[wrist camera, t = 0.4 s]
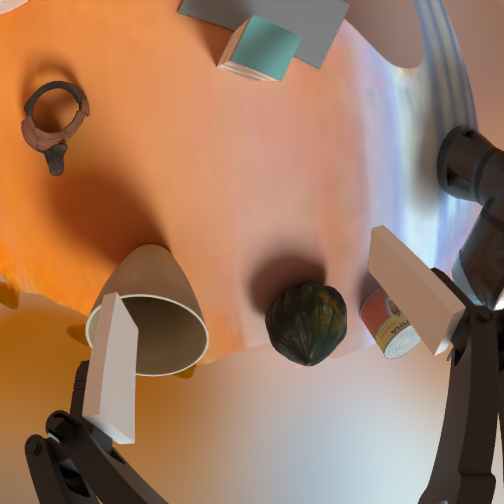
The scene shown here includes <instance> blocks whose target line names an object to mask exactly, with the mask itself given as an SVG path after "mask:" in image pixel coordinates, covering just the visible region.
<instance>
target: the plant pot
mask: <svg viewBox="0 0 504 504" xmlns="http://www.w3.org/2000/svg"><path fill="white" fill-rule="evenodd" d="M115 292H117V293H118V295H119V296H120V298H121V300H122V302H123V304H124V305H125V307H126V309H127V311H128V313H129V314H130V316H131V318H132V320H133V321H134V323H135V325H136V326H137V328H138V340H137V355H136V375H144V376H162V375H169V374H174V373H177V372H180V371H183V370H185V369H187V368H189V367H191V366H192V365H194V364H195V363H196V362H198V361H199V360H200V359H201V358H202V356H203V355H204V354H205V352H206V350H207V347H208V343H209V333H208V330H207V327H206V324H205V321H204V318H203V315H202V312H201V310H200V307H199V304H198V301H197V299H196V297H195V294H194V292H193V290H192V288H191V286H190V284H189V281H188V279H187V278H186V276H185V274H184V272H183V271H182V269H181V267H180V266H179V264H178V263H177V261H176V260H175V259H174V257H173V256H172V255H171V253H170V252H169V251H168V250H167V249H165V248H164V247H162V246H159V245H155V244H145V245H142V246H139V247H137V248H136V249H135V250H133V251H132V252H131V253H130V254H129V255H128V256H127V257H126V258H125V259H124V260H123V261H122V262H121V263H120V264H119V265H118V267H117V268H116V269H115V270H114V272H113V273H112V274H111V276H110V277H109V279H108V280H107V282H106V283H105V285H104V287H103V288H102V290H101V292H100V294H99V296H98V298H97V300H96V302H95V304H94V306H93V308H92V310H91V313H90V315H89V317H88V320H87V322H86V328H85V332H86V338H87V341H88V343H89V345H90V347H91V348H92V346H93V341H94V336H95V331H96V326H97V322H98V318H99V313H100V309H101V305H102V301H103V297H104V295H107V294H111V293H115Z"/></svg>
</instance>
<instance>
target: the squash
mask: <svg viewBox="0 0 504 504" xmlns="http://www.w3.org/2000/svg"><path fill="white" fill-rule="evenodd" d="M265 324H266V328H267V331H268V334H269V338H270V341H271V344H272V345H273V347H274V348H275V349H276V351H278V352H279V353H281V354H282V355H283V356H285V357H286V358H288V359H289V360H291V361H293V362H295V363H298V364H301V365H304V366H314V365H316V364H318V363H320V362H321V361H323V360H324V359H325V358H326V357H327V356H329V355H330V354H331V353H332V352H333V351H334V349H335V348H336V347H337V345H338V344H339V343H340V342H341V341H342V340H343V339H344V337H345V335H346V332H347V309H346V304H345V302H344V300H343V298H342V296H341V294H340V293H339V292H338V291H337V290H336V289H335V288H333V287H330V286H322V285H321V284H320V283H318V282H316V281H310V282H306V283H304V284H303V285H302V286H301V288H300V289H299V288H296V287H292V288H289V289H288V290H287V292H286V294H285V295H283V296H281V297H279V298H278V299H277V300H276V301H275V303H274V304H273V305H272V306H271V307H270V308H269V309H268V311H267V312H266V316H265Z"/></svg>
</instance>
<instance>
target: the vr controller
mask: <svg viewBox="0 0 504 504" xmlns="http://www.w3.org/2000/svg"><path fill="white" fill-rule="evenodd" d="M55 88H61V89H65V90H67V91H69V92H70V93H71V94H72V95H73V96H74V97H75V99H76V102H77V103H79V111H77V112H76V115H75V117H74V119H73V120H72V122H71V123H70V124H69V125H68V126H67V127H65V128H64V129H62V130H60V131H58V132H46V131H43V130H41V129H40V128H39V127H38V126H37V125H36V124H35V122H34V119H33V115H32V113H33V107H34V104H35V102H36V101H37V99H38V98H39V97H40V96H41V95H42V94H43V93H44V92H46V91H48V90H51V89H55ZM24 110H25V112H26V114H27V118H26V119H25V120H23V121H22V122H21V129H22V134H23V137H24V139H25V141H26V142H27V144H28V145H30V146H31V147H32V148H33V149H35V150H36V151H38V152H41V153H44V155H45V158H46V161H47V164H48V166H49V170H50V174H51V175H53V176H59V175H61V174H62V173H63V171H64V162H63V157H64V153H65V152H66V150H67V148H68V146H67V145H66V144H64V143H59V142H60V141H61V140H62V139H64V140H65V141H67V140H68V139H69V138H70V137H71V136H72V135H73V134H74V133H75V132H76V131H77V129H78V128H79V126H80V125H81V123H82V122H83V120H84V117H85V114H86V116H89V104H88V101H87V98H86V96H85V95H84V94H83V92H81V90H80V89H78V88H77V87H76V86H74V85H72V84H70V83H68V82H64V81H53V82H50V83H47V84H45V85H43V86H42V87H41V88H39V89H38V90H37V91H36V92H35V93H34V94H33V96H32V97H31V98H30V99H29V100H28V101H27V102H26V104H25V107H24Z"/></svg>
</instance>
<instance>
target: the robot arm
mask: <svg viewBox="0 0 504 504" xmlns="http://www.w3.org/2000/svg"><path fill="white" fill-rule="evenodd" d="M437 173H438V179H439V183H440V185H441V187H442V189H443V190H444V191H445V192H447V193H448V194H450V195H451V196H453V197H455V198H458V199H464V200H469V201H474V202H477V203H479V204H481V205H482V206H483V208H482V210H481V212H480V215H479V216H478V218H477V220H476V222H475V224H474V226H473V228H472V230H471V232H470V234H469V236H468V238H467V240H466V242H465V244H464V246H463V247H462V249H460V251H459V254H458V257H457V259H456V261H455V263H454V265H453V267H452V278H453V281H454V282H453V281H452V280H450V278H449V277H448V276H447V275H446V274H445V273H444V272H442V271H440V270H439V269H437V268H435V267H434V268H431V269H429V268H428V267H427V266H426V265H425V264H424V263H423V262H422V261H421V260H420V259H419V258H418V257H417V256H416V255H415V254H414V253H413V252H412V251H411V250H410V249H409V248H408V247H407V246H406V245H405V244H404V243H402V242H401V241H400V240H399V239H398V238H397V237H396V236H395V235H394V234H393V233H392V232H391V231H389V230H388V229H387V228H386V227H385V226H384V225H383V226H379V227H375V228H372V232H371V244H370V255H369V265H368V271H369V272H370V273H371V274H372V276H373V277H374V278H375V279H376V280H377V282H378V283H379V284H380V285H381V287H382V288H383V289H384V290H385V292H386V293H387V294H388V295H389V297H390V298H391V299H392V301H393V302H394V303H395V304H396V306H397V307H398V308H399V310H400V311H401V312H402V313H403V315H404V316H405V317H406V319H407V320H408V321H409V323H410V324H411V325H412V327H413V328H414V329H415V331H416V332H417V333H418V335H419V336H420V338H421V339H422V340H423V342H424V343H425V344H426V346H427V347H428V349H429V350H430V351H431V353H432V354H433V356H435V355H437V354H439V353H441V352H442V351H444V350H446V348H447V347H448V344H449V343H450V341H451V343H452V344H453V345H454V346H453V348H452V350H451V352H450V354H449V355H448V358H447V361H449V359H450V358H451V369H450V380H449V389H448V396H447V403H446V410H445V417H444V422H443V427H442V432H441V437H440V442H439V446H438V451H437V455H436V459H435V463H434V466H433V470H432V474H431V477H430V480H429V484H428V486H427V488H426V490H425V491H424V493H423V494H422V496H421V497H420V499H419V502H418V504H491V503H492V499H493V495H494V491H495V485H496V479H495V476H494V475H493V474H492V473H491V466H492V460H493V454H494V447H495V439H496V429H497V419H498V418H497V417H498V414H499V421H500V430H501V439H502V452H503V481H504V151H502V150H500V149H498V148H496V147H495V146H494V145H493V144H492V143H491V142H490V141H488V140H487V139H486V138H485V137H484V136H483V135H482V134H481V133H480V132H479V131H477V130H475V129H473V128H471V127H468V126H459V127H457V128H455V129H454V130H452V131H451V132H450V133H449V135H448V136H447V137H446V139H445V141H444V143H443V145H442V147H441V150H440V153H439V158H438V165H437ZM137 340H138V328H137V326H136V325H135V323H134V321H133V320H132V318H131V316H130V314H129V313H128V311H127V309H126V307H125V305H124V304H123V302H122V300H121V298H120V296H119V295H118V293H117V292H115V293H111V294H107V295H104V297H103V301H102V305H101V309H100V313H99V318H98V322H97V326H96V331H95V336H94V341H93V346H92V351H91V357H90V360H88V361H82V362H81V364H80V366H79V367H78V369H77V372H76V377H75V383H74V388H73V389H74V391H73V395H72V402H71V408H70V415H69V414H68V413H67V412H65V411H62V410H58V411H55V412H54V413H52V414H51V415H50V416H49V417H48V419H47V422H46V432H47V434H48V435H49V436H50V437H49V438H46V439H45V438H43V437H42V436H40V435H37V434H35V435H32V436H30V437H29V438H28V439H27V441H26V444H25V455H26V458H27V463H28V466H29V469H30V474H31V477H32V481H33V484H34V487H35V490H36V493H37V496H38V499H39V502H40V504H100V503H99V501H98V499H97V497H98V498H99V500H100V501H101V502H102V503H103V504H168V503H167V502H166V501H165V500H164V499H163V498H162V497H161V496H160V495H159V494H158V493H156V491H154V490H153V489H152V488H151V487H150V486H149V485H148V484H147V483H146V482H145V481H144V480H143V479H142V478H141V477H140V476H139V475H138V474H137V472H135V470H134V469H133V468H132V467H131V466H130V465H129V464H128V463H127V462H126V461H125V459H124V458H123V457H122V456H121V455H120V454H119V453H118V451H117V450H116V449H115V448H114V447H112V439H113V440H114V441H116V442H117V443H119V444H128V443H135V412H134V411H135V375H136V355H137ZM451 356H452V357H451ZM96 496H97V497H96Z"/></svg>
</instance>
